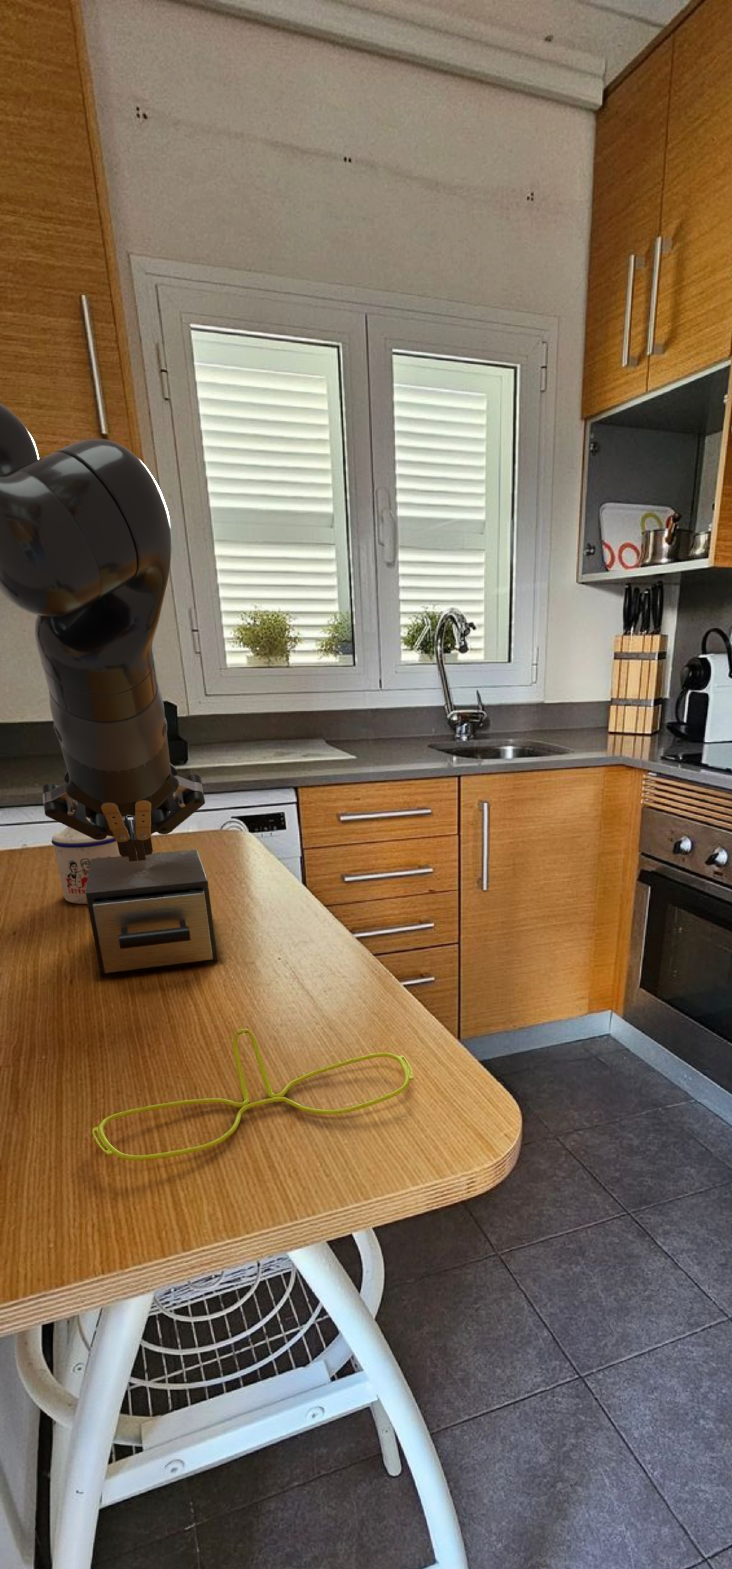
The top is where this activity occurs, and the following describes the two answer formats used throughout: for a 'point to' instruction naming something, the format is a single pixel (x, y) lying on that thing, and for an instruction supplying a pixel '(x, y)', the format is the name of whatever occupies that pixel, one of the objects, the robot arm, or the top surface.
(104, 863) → the metal drawer cabinet
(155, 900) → the silver drawer with handle
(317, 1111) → the glasses
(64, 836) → the teacup with lid
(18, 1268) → the top surface
